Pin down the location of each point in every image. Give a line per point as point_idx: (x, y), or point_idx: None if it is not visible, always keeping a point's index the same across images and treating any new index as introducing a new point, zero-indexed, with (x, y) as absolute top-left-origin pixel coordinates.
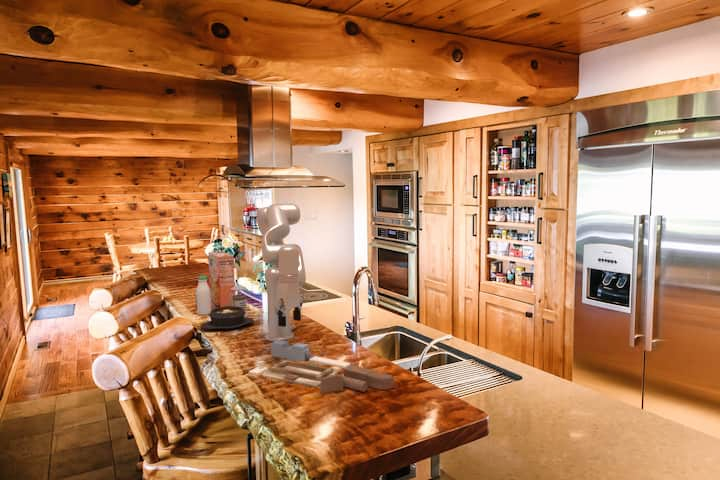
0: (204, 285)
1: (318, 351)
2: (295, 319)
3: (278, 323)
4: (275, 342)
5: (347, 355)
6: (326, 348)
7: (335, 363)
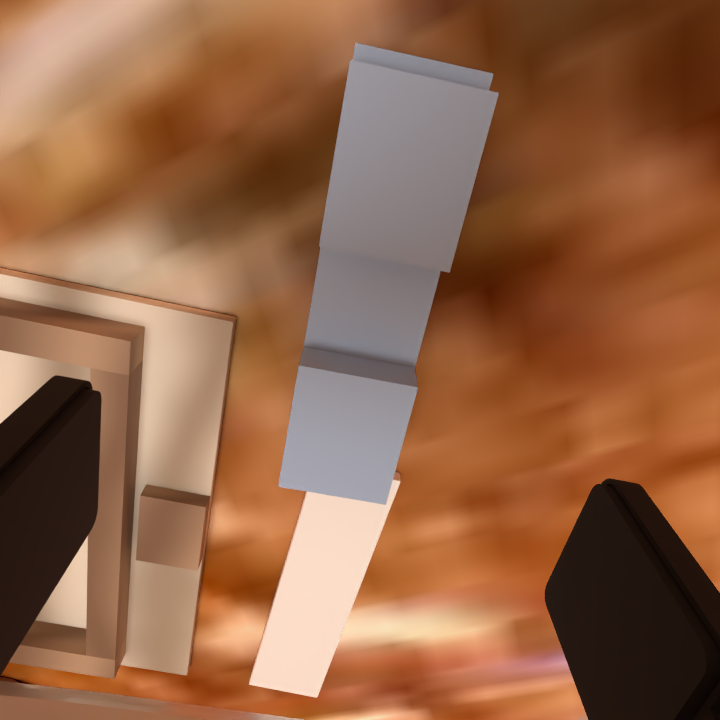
0: None
1: (561, 451)
2: (581, 535)
3: (35, 398)
4: (370, 113)
5: (492, 641)
6: (648, 486)
7: (282, 632)
